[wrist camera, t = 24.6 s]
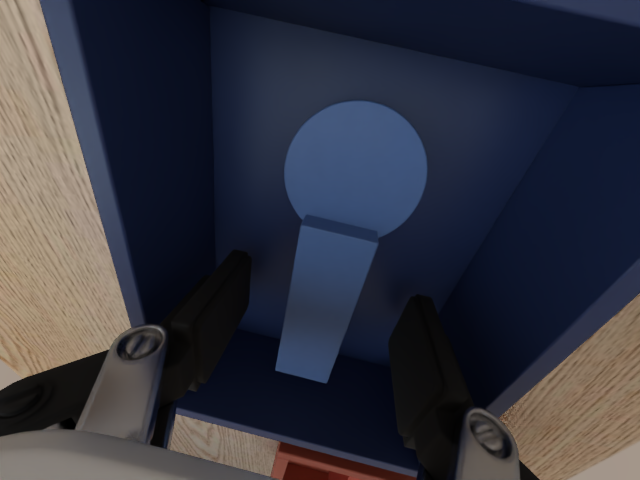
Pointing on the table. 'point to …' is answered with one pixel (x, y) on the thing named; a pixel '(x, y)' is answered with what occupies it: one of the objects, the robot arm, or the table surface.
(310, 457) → the red bin
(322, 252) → the blue spoon
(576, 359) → the table surface
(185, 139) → the blue bin
